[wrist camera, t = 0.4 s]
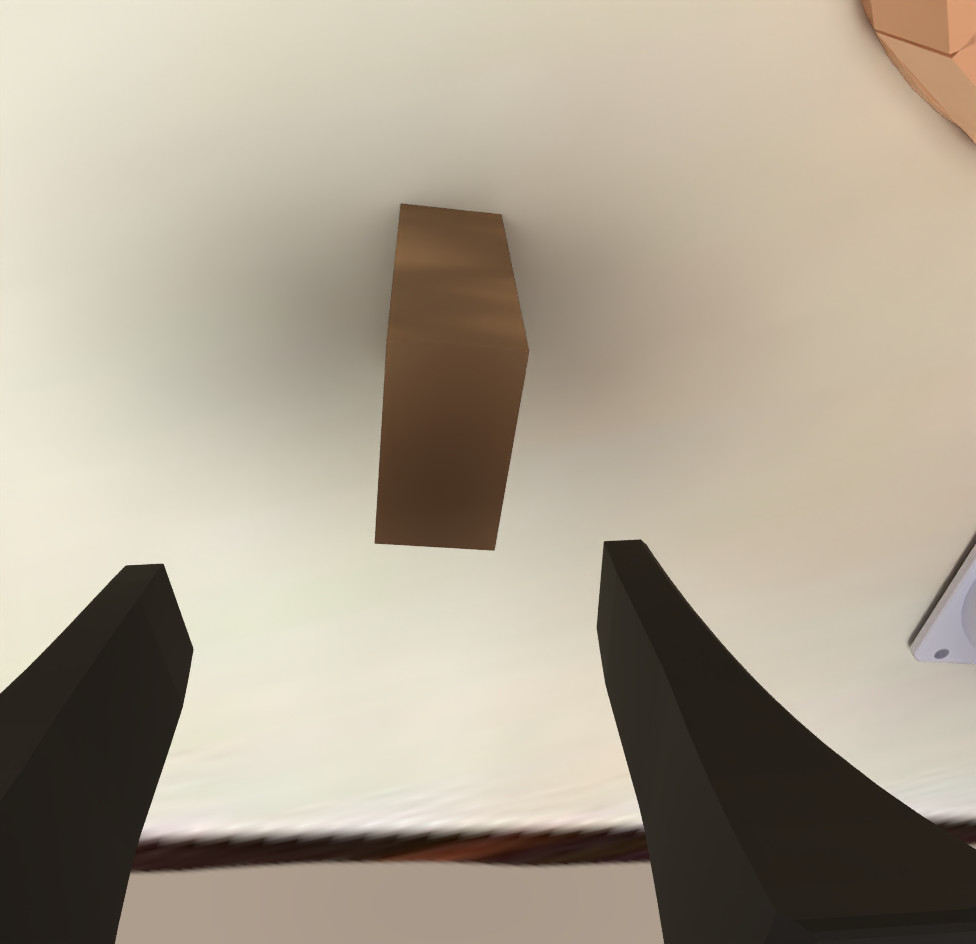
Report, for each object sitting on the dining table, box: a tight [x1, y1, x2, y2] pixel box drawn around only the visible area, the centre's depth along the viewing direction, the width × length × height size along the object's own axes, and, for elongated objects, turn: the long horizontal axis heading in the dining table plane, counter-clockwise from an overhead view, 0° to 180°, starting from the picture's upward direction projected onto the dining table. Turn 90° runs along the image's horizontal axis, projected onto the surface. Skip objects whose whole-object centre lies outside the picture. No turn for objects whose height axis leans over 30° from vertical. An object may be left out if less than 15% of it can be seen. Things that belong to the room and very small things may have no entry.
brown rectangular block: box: [375, 204, 529, 550], centre depth 18 cm, size 2×4×7 cm, turn 173°
